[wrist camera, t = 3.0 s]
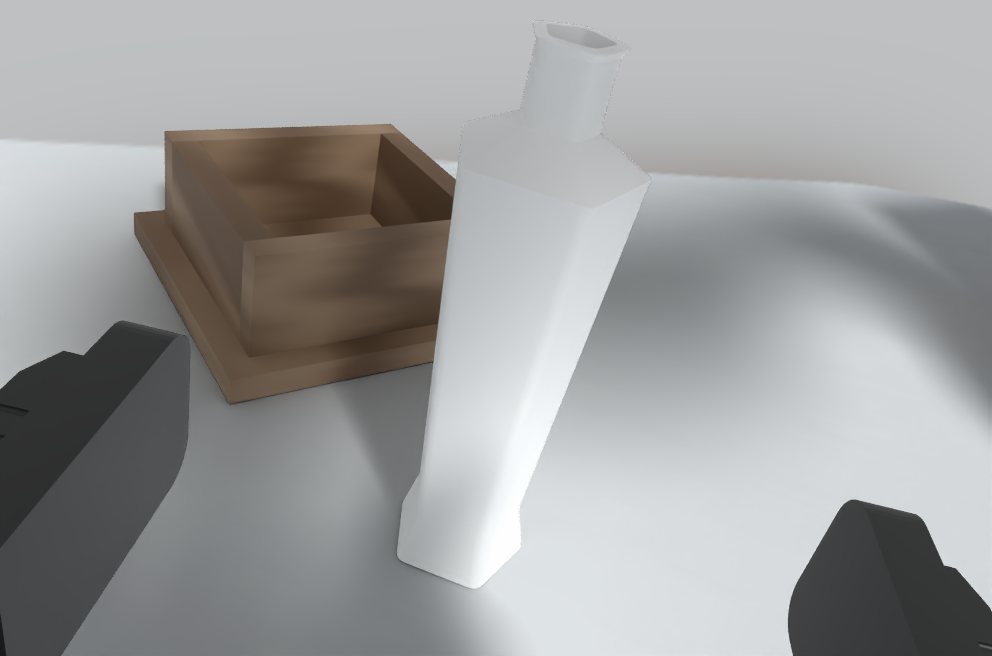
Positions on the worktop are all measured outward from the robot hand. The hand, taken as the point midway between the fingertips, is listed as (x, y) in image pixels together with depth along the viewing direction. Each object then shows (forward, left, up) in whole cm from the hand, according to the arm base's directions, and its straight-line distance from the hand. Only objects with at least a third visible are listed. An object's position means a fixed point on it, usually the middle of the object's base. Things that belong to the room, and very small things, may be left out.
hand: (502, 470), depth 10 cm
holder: (-8, -22, -12) cm, 27 cm away
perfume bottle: (-6, -8, -12) cm, 16 cm away
